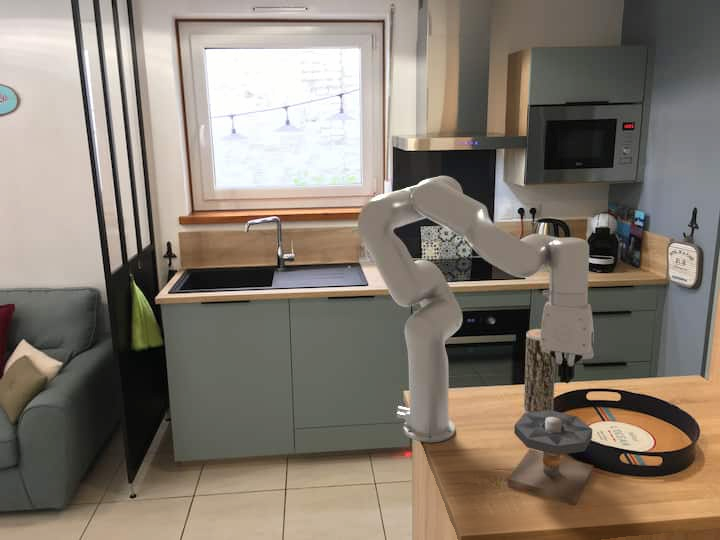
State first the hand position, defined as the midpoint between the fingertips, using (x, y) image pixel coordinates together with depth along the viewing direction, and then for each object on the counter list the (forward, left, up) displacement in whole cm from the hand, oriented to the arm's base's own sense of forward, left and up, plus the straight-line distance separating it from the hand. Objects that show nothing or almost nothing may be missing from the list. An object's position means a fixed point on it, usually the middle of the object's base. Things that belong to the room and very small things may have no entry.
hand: (566, 380), depth 136 cm
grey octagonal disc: (0, -7, -10) cm, 12 cm away
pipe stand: (0, -7, -20) cm, 21 cm away
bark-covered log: (-9, +12, -20) cm, 26 cm away
